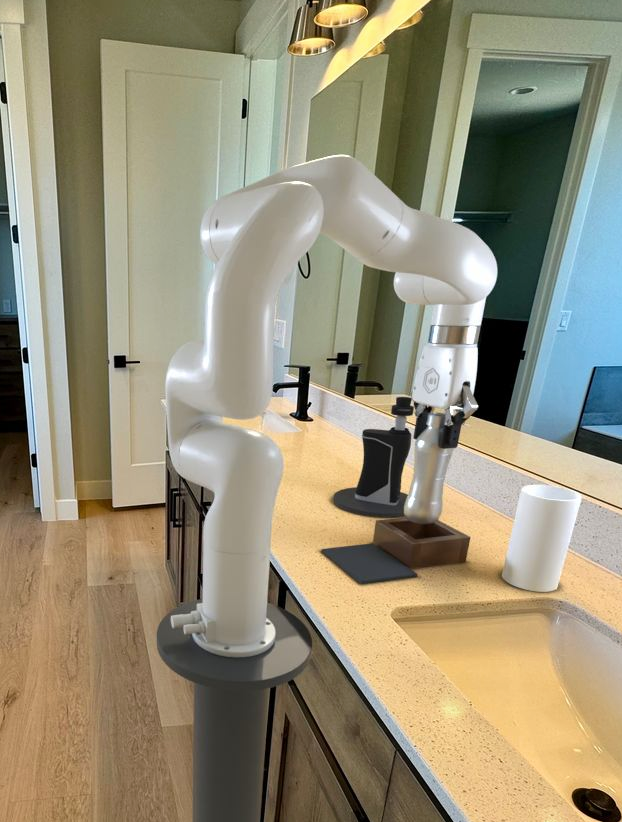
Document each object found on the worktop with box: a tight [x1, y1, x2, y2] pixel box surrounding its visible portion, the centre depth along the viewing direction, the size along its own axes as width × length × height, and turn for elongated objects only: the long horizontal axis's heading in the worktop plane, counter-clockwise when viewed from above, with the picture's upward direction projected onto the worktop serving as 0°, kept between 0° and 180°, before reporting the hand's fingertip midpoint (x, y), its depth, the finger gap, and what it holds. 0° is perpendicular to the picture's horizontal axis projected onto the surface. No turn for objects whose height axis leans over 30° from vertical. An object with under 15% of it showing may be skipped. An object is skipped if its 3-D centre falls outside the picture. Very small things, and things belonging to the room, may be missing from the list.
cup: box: [501, 484, 583, 593], centre depth 95 cm, size 8×8×16 cm
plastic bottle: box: [404, 412, 455, 524], centre depth 103 cm, size 6×7×20 cm
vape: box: [332, 396, 415, 519], centre depth 131 cm, size 19×19×25 cm
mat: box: [321, 542, 418, 585], centre depth 105 cm, size 11×14×1 cm
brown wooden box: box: [372, 516, 472, 570], centre depth 109 cm, size 12×12×5 cm
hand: (434, 442), depth 101 cm, fingers closed on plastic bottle, 6 cm apart
